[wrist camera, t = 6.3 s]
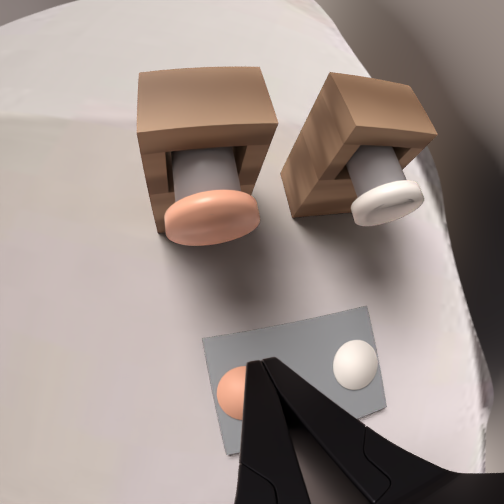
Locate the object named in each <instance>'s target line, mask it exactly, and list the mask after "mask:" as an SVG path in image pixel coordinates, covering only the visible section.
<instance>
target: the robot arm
mask: <svg viewBox="0 0 504 504" xmlns="http://www.w3.org/2000/svg"><path fill="white" fill-rule="evenodd" d="M234 504H504V473H457V472H453V471H449V470H446V469H443V468H441V467H439V466H437V465H434V464H432V463H430V462H428V461H426V460H424V459H422V458H420V457H418V456H416V455H414V454H412V453H410V452H408V451H406V450H404V449H402V448H401V447H399V446H397V445H395V444H393V443H392V442H390V441H388V440H387V439H385V438H384V437H382V436H381V435H379V434H378V433H376V432H375V431H373V430H372V429H371V428H369V427H368V426H366V427H365V424H363V423H362V422H361V421H359V420H358V419H357V418H355V417H354V416H352V415H351V414H350V413H348V412H347V411H346V410H344V409H343V408H341V407H340V406H339V405H337V404H336V403H335V402H333V401H332V400H331V399H329V398H328V397H327V396H325V395H324V394H323V393H322V392H320V391H319V390H318V389H316V388H315V387H314V386H312V385H311V384H310V383H308V382H307V381H306V380H305V379H303V378H302V377H301V376H299V375H298V374H297V373H296V372H294V371H293V370H292V369H291V368H289V367H288V366H287V365H286V364H284V363H283V362H282V361H281V360H279V359H278V358H277V357H270V358H265V359H262V360H255V361H250V362H247V363H246V373H245V387H244V402H243V416H242V430H241V444H240V459H239V470H238V482H237V490H236V497H235V502H234Z"/></svg>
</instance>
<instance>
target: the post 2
mask: <svg viewBox="0 0 504 504" xmlns="http://www.w3.org/2000/svg"><path fill="white" fill-rule="evenodd" d="M437 135H438V134H437V132H436V130H435V128H434V127H433V125H432V123H431V121H430V119H429V118H428V116H427V114H426V112H425V110H424V109H423V107H422V105H421V104H420V102H419V100H418V99H417V97H416V95H415V94H414V92H413V90H412V89H411V87H410V86H408V85H403V84H399V83H394V82H389V81H384V80H379V79H373V78H367V77H361V76H355V75H348V74H341V73H333V72H330V73H329V75H328V77H327V79H326V81H325V83H324V85H323V87H322V89H321V91H320V93H319V95H318V97H317V99H316V101H315V103H314V105H313V107H312V109H311V111H310V113H309V115H308V117H307V119H306V122H305V124H304V126H303V128H302V130H301V132H300V134H299V136H298V138H297V140H296V142H295V144H294V146H293V148H292V150H291V152H290V154H289V156H288V159H287V161H286V163H285V165H284V167H283V169H282V171H281V173H280V174H281V177H282V181H283V185H284V189H285V192H286V196H287V200H288V204H289V208H290V211H291V215H292V218H296V217H306V216H317V215H328V214H339V213H351V212H352V211H351V205H352V203H353V202H354V201H355V200H356V199H357V195H356V192H355V189H354V186H353V183H352V180H351V178H350V175H349V172H348V169H347V167H346V163H347V162H348V161H349V159H350V158H351V157H352V156H353V154H354V153H355V152H356V150H357V149H358V148H359V146H360V145H374V146H392V147H393V150H394V152H395V154H396V156H397V159H398V161H399V163H400V166H401V168H402V170H403V169H404V168H405V167H406V166H407V165H408V164H409V163H410V162H411V161H412V160H413V159H414V158H415V157H416V156H417V155H418V154H419V153H420V152H421V151H422V150H423V149H424V148H425V147H426V146H427V145H428V144H429V143H430V142H431V141H432V140H433V139H434V138H435V137H436V136H437Z"/></svg>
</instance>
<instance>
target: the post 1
mask: <svg viewBox="0 0 504 504" xmlns="http://www.w3.org/2000/svg"><path fill="white" fill-rule="evenodd" d="M277 126H278V120H277V117H276V114H275V111H274V108H273V105H272V102H271V99H270V96H269V93H268V90H267V87H266V84H265V81H264V78H263V75H262V72H261V69H260V67H201V68H183V69H170V70H159V71H150V72H141V73H139V81H138V102H137V137H138V143H139V148H140V153H141V158H142V164H143V169H144V174H145V178H146V183H147V188H148V192H149V197H150V202H151V206H152V210H153V215H154V219H155V223H156V227H157V232H158V233H163V232H166V229H165V219H164V216H165V213H166V211H167V209H168V208H169V207H170V206H171V205H173V204H174V203H175V192H174V181H173V170H172V158H171V151H180V150H191V149H202V148H215V147H230V146H232V148H233V153H234V158H235V163H236V168H237V173H238V178H239V182H240V187H241V192H244V193H247V194H249V195H251V194H252V191H253V189H254V186H255V183H256V181H257V178H258V175H259V173H260V170H261V167H262V165H263V162H264V159H265V157H266V154H267V152H268V149H269V146H270V144H271V141H272V139H273V136H274V133H275V131H276V128H277Z"/></svg>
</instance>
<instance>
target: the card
mask: <svg viewBox="0 0 504 504" xmlns="http://www.w3.org/2000/svg"><path fill="white" fill-rule="evenodd" d="M202 341H203V346H204V352H205V357H206V363H207V368H208V373H209V378H210V383H211V388H212V393H213V398H214V403H215V407H216V412H217V417H218V421H219V426H220V430H221V435H222V439H223V443H224V448H225V452H226V455H230V454H235V453H240V444H241V430H242V416H243V402H244V387H245V373H246V363H247V362H250V361H255V360H262V359H265V358H270V357H277V358H278V359H279V360H281V361H282V362H283V363H284V364H286V365H287V366H288V367H289V368H291V369H292V370H293V371H294V372H296V373H297V374H298V375H299V376H301V377H302V378H303V379H305V380H306V381H307V382H308V383H310V384H311V385H312V386H314V387H315V388H316V389H318V390H319V391H320V392H322V393H323V394H324V395H325V396H327V397H328V398H329V399H331V400H332V401H333V402H335V403H336V404H337V405H339V406H340V407H341V408H343V409H344V410H346V411H347V412H348V413H350V414H351V415H352V416H354V417H355V418H357V419H358V418H361V417H363V416H366V415H368V414H371V413H373V412H376V411H378V410H381V409H383V408H385V407H387V406H386V399H385V393H384V387H383V382H382V376H381V370H380V365H379V360H378V355H377V350H376V345H375V340H374V335H373V331H372V326H371V322H370V317H369V313H368V308H367V306H363V307H359V308H355V309H351V310H347V311H342V312H338V313H334V314H329V315H325V316H320V317H316V318H311V319H306V320H302V321H297V322H292V323H287V324H282V325H277V326H272V327H266V328H261V329H255V330H250V331H244V332H238V333H233V334H227V335H221V336H214V337H208V338H202Z"/></svg>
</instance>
